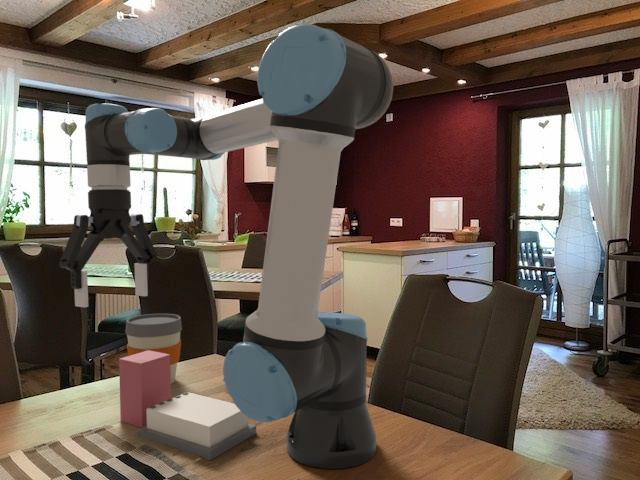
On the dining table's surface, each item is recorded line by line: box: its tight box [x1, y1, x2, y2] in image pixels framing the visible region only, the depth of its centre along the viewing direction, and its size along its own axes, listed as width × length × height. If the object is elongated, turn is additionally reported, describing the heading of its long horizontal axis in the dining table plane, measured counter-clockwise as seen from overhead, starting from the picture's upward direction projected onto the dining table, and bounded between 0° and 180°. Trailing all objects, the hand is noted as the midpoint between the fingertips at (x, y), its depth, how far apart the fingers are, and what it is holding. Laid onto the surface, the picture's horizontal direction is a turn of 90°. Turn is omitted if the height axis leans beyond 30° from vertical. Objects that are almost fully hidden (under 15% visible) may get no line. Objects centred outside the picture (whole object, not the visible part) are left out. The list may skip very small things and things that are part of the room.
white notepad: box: [138, 391, 257, 461], centre depth 96 cm, size 17×12×5 cm
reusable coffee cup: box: [124, 313, 183, 385], centre depth 125 cm, size 13×13×15 cm
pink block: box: [118, 350, 172, 428], centre depth 103 cm, size 6×7×12 cm
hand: (113, 301), depth 103 cm, fingers open, 13 cm apart
